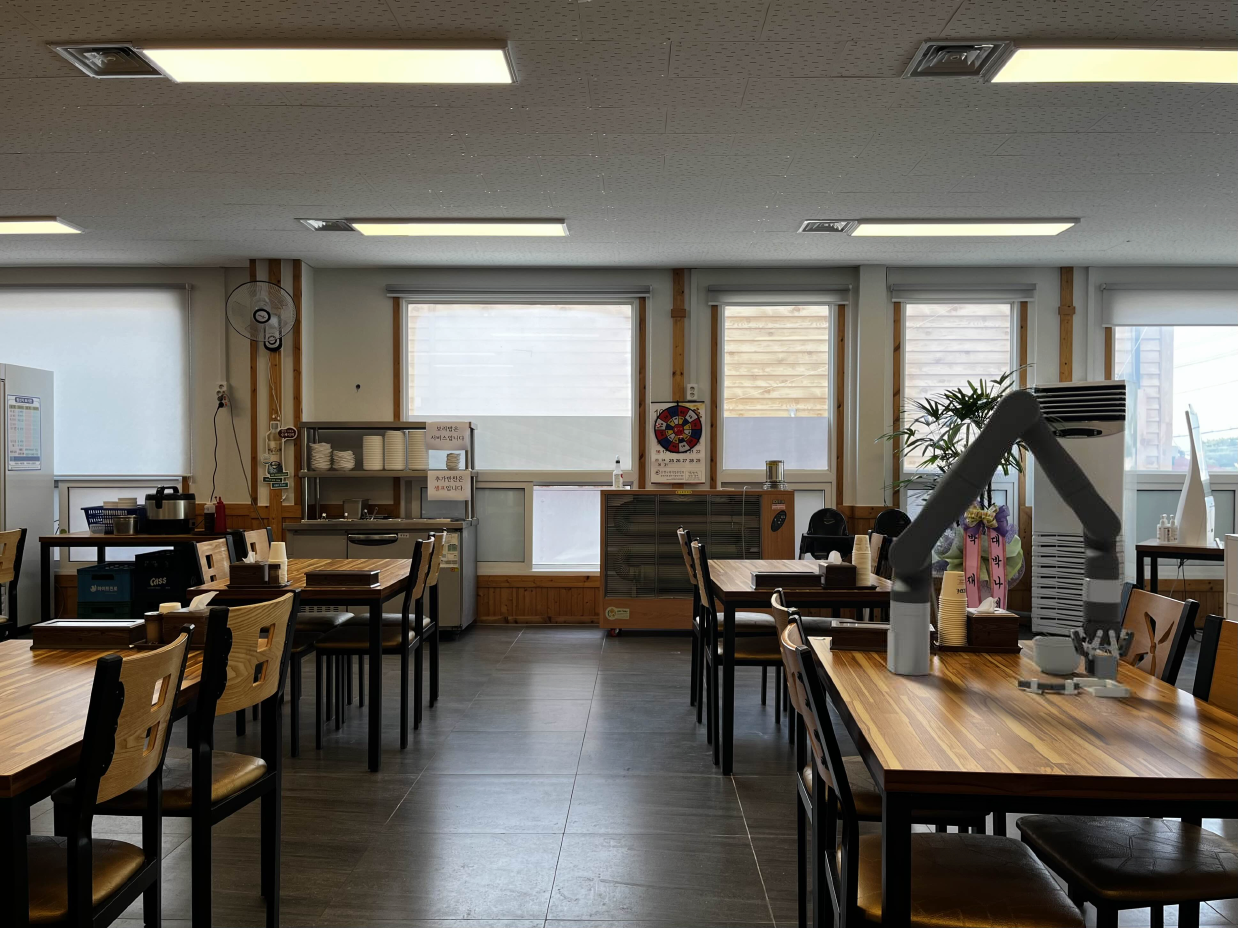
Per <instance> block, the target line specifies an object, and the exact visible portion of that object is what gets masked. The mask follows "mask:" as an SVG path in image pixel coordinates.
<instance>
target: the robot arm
mask: <svg viewBox="0 0 1238 928" xmlns="http://www.w3.org/2000/svg"><path fill="white" fill-rule="evenodd" d="M985 423H986V424H985V425H984V427H983V428H982V429H981V430H980V432H979V433H978V435H977V436H976V437H975V438H974V440H973V441H971V442H970V444H969V445H968V446H967V447H966V448H965V449H964V450H963V451H962V452H961V453H960V455H958V457H957V458H956V459H955V460H954V462H953V463H952V464H951V465H950V466H949V468H948V469H947V470H946V472H945V473H944V474H943V476H942V477H941V479H940V480H939V481H938V483H937V485H936V486H935V487H934V489H933V491H932V492H931V493H930V495H929V497H928V498H927V499H926V501H925V503H924V505H923V506H922V508H921V510H920V511H919V513H918V514H917V516H916V517H914V519H913V520H912V521H911V522H910V524H909V525H908V526H907V527H906V528H905V529H904V530H903V532H901V533H900V535H898V536H897V538H895V539H894V541H892V543H891V544H890V546H889V549H888V561H889V565H890V566H891V567H892V569H893V579H892V585H891V588H890V594H889V595H890V597H889V598H890V601H889V602H890V605H889V606H890V607H889V608H890V612H889V613H890V616H889V617H890V618H889V619H890V621H889V622H890V623H889V629H888V630H887V655H886V656H887V659H886V663H887V666H886V669H887V670H888V671H890V672H892V674H896V675H897V674H898V675H899V674H900V675H903V676H904V675H906V676H925V675H929V674H930V667H931V665H930V656H931V655H930V646H931V643H930V641H931V639H930V637H931V634H930V633H931V628H930V627H931V594H932V593H931V592H932V589H933V565H934V564H933V559H934V558H933V557H934V556H933V550H934V548H935V547H936V545H937V544H938V542H939V541H940V540H941V538H942V537H943V535H944V534H945V533H946V532H947V531H948V529H949V528H951V526H953V525H954V524H955V523H956V522H957V521H958V520H959V519H960V518H962V516H963V515H965V513H967V511H969V509H970V508H971V506H973V504H975V502H976V501H977V499H978V498H979V497H980V495H981V494H982V493H983V492H984V490H985V489H986V488H987V486H988V485H989V483H990V482H991V480H992V479H993V477H994V475H995V473H996V472H997V471H998V468H999V466H1000V464H1001V463H1002V461H1003V459H1004V457H1005V455H1006V454H1007V453H1008V452H1009V450H1010V449H1011V448H1012V447H1013V445H1014V444H1015V443H1016V442H1017V441H1018V440H1019V439H1020V440H1021V441H1022V442H1023V444H1024V445H1025V447H1027V449H1028V450H1029V451H1030V453H1031V454H1032V455H1033V457H1034V458H1035V459H1036V462H1037V463H1038V464H1039V466H1040V468H1041V469H1042V471H1043V473H1044V474H1045V476H1046V477H1047V480H1048V481H1049V483H1050V484H1051V485H1052V487H1053V488H1054V489H1055V491H1056V493H1057V494H1058V495H1059V497H1060V498H1061V499H1062V501H1063V502H1064V503H1065V505H1066V506H1068V507H1069V508H1070V509H1071V510H1072V512H1073V513H1074V514H1075V516H1076V517H1077V519H1078V520H1079V522H1080V523H1081V525H1082V540H1083V541H1082V542H1083V550H1084V563H1083V566H1084V567H1083V584H1082V594H1081V595H1082V624H1081V625H1080V627H1078V628H1075V629H1073V628H1070V629H1069V630H1068V634H1069V638H1071V640H1072V643H1073V646H1074V649H1075V652H1076V654H1078V655H1081V657H1083V658H1084V672H1085V673H1086V672H1087V674H1088V675H1087V674H1086V675H1087V676H1089V675H1090V676H1089V677H1092V676H1094V675H1095V660H1094V656H1095V653H1096V652H1097V650H1098V649H1099V647H1100V646H1101V645H1104V648H1105V649H1106V651H1107V652H1106V653H1107V654H1111V655H1113V656H1115V657H1117V674H1118V673H1119V660H1120V659H1121V658H1127V657H1128V655H1129V652H1130V650H1131V647H1132V645H1133V644H1132V643H1133V640H1134V638H1135V635H1136V634H1135V632H1134V631H1131V630H1127V629H1125V628H1124V629H1123V627H1122V625H1121V614H1122V613H1121V603H1122V602H1121V599H1122V598H1121V591H1122V590H1121V584H1120V583H1121V582H1120V560H1119V556H1118V552H1117V538H1118V537H1119V535H1120V533H1121V531H1122V523H1121V520H1120V518H1119V516H1118V515H1117V514H1116V512H1115V511H1114V509H1113V508H1111V506H1110V504H1108V502H1106V500H1105V499H1104V498H1103V497H1102V496H1101V495H1100V494H1099V492H1098V491H1097V489H1096V488H1095V486H1094V484H1093V483H1092V482H1091V481H1090V479H1089V478H1088V476H1087V475H1086V473H1085V472H1084V470H1082V467H1080V465H1079V464H1078V463H1077V462H1076V460H1074V458H1073V457H1072V456H1071V455H1070V453H1069V452H1068V451H1067V450H1066V448H1065V447H1064V446H1063V445H1062V444H1061V442H1060V441H1059V440H1058V439H1057V437H1056V436H1055V435H1054V433H1053V431H1052V430H1051V428H1050V427H1049V425H1048V423H1047V421H1046V418H1045V417H1044V415H1043V413H1042V411H1041V405H1040V402H1039V400H1038V398H1037V397H1036V395H1034V394H1033V393H1032V392H1030V391H1027V390H1025V389H1014V390H1010V391H1007V393H1005V394H1003V396H1001V397H1000V399H999V400H998V402H997V404H996V406H995V408H994V410H993V412H992V413H991V415H990V417H989V419H988V420H987V421H986V422H985ZM1083 634H1084V636H1085V637H1086V640H1085V644H1083V643H1084V642H1083V641H1082V638H1083ZM1118 637H1120V641H1119V644H1118V643H1117V639H1118Z"/></svg>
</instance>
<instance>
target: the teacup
mask: <svg viewBox="0 0 1238 928" xmlns="http://www.w3.org/2000/svg"><path fill="white" fill-rule="evenodd" d="M1031 642H1032V649H1033V650H1032V651H1033V660H1034V663H1035V665H1036V667H1038V668H1039V669H1040V670H1041V671H1042V672H1044V673H1046V674H1050V675H1063V676H1064V675H1071V674H1073V673H1074V672H1075V671H1076V670H1077V669H1079V667H1080V666H1081V659H1082V656H1081V655H1078V654H1076V652H1075V649H1074V646H1073V643H1072V640H1071V637H1063V636H1040V635H1039V636H1035V637H1034V638H1033V639H1032V641H1031Z"/></svg>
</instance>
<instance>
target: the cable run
mask: <svg viewBox="0 0 1238 928" xmlns="http://www.w3.org/2000/svg"><path fill="white" fill-rule="evenodd" d="M1017 688H1021V689H1027V688H1030V689H1031V680H1023V679H1018V680H1017ZM1037 689H1039V690H1042V691H1047V692H1048V691H1049V692H1051V691H1052V692H1056V691H1063V690H1065V681H1064V682H1042V681H1037ZM1074 691H1080V687H1079V683H1077V682H1074Z"/></svg>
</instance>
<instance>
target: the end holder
mask: <svg viewBox="0 0 1238 928" xmlns="http://www.w3.org/2000/svg"><path fill="white" fill-rule="evenodd" d="M1073 681H1074V682H1077V683H1079V688H1082V689H1083V690H1085V691H1087V692H1089V693H1092V696H1093V697H1110V698H1111V697H1114V698H1118V697H1121V698H1130V696H1131V695H1130V693H1131V691H1130V690H1131V688H1129V687H1126V686H1124V685H1122V684H1120V683H1118V682H1115V681H1114V680H1098V679H1096V678H1094V677H1092V678H1089V677H1088V678H1087V677H1082V678H1081V677H1073Z"/></svg>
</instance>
